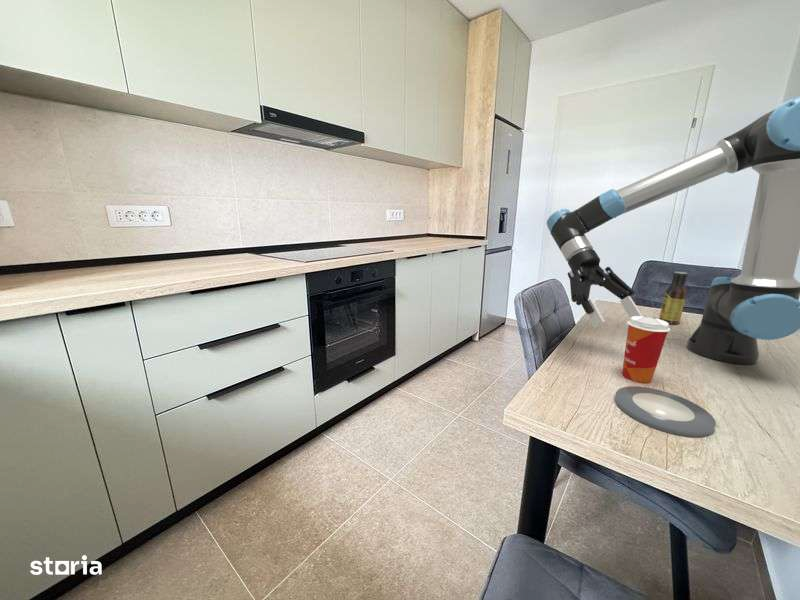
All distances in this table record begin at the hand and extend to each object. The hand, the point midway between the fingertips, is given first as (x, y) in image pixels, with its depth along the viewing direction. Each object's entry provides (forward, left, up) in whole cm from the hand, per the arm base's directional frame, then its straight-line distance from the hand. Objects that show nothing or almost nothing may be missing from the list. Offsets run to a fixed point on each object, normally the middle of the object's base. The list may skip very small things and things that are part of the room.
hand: (619, 322), depth 83 cm
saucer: (+9, +18, -13) cm, 24 cm away
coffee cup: (-1, +6, -13) cm, 14 cm away
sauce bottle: (-59, -22, -13) cm, 64 cm away
